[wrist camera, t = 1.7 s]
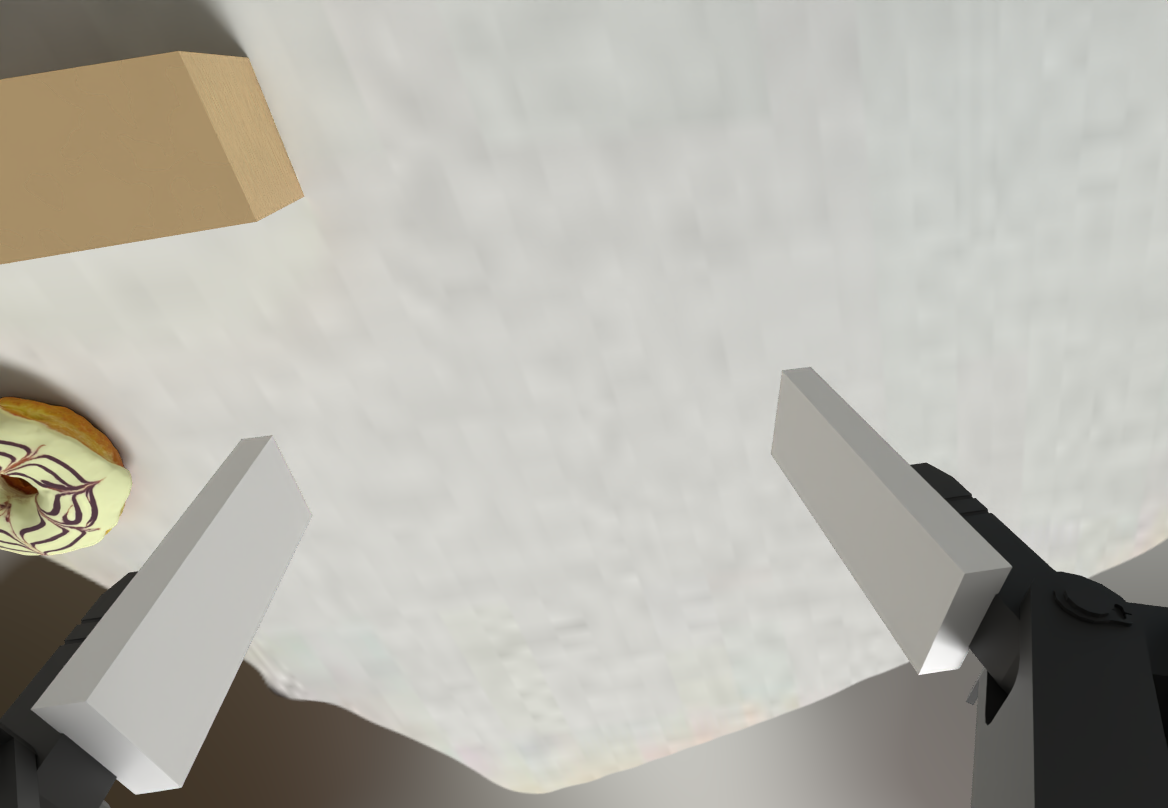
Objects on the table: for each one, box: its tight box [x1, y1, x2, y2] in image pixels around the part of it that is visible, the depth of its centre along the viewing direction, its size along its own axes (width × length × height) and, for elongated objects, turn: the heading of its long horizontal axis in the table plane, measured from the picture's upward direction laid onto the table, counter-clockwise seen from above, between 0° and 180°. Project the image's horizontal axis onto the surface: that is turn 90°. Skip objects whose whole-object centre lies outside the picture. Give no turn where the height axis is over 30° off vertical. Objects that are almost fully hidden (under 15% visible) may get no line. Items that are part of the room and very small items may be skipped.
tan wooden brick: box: [0, 51, 304, 264], centre depth 23 cm, size 20×6×6 cm, turn 98°
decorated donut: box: [0, 397, 132, 555], centre depth 32 cm, size 10×11×4 cm
